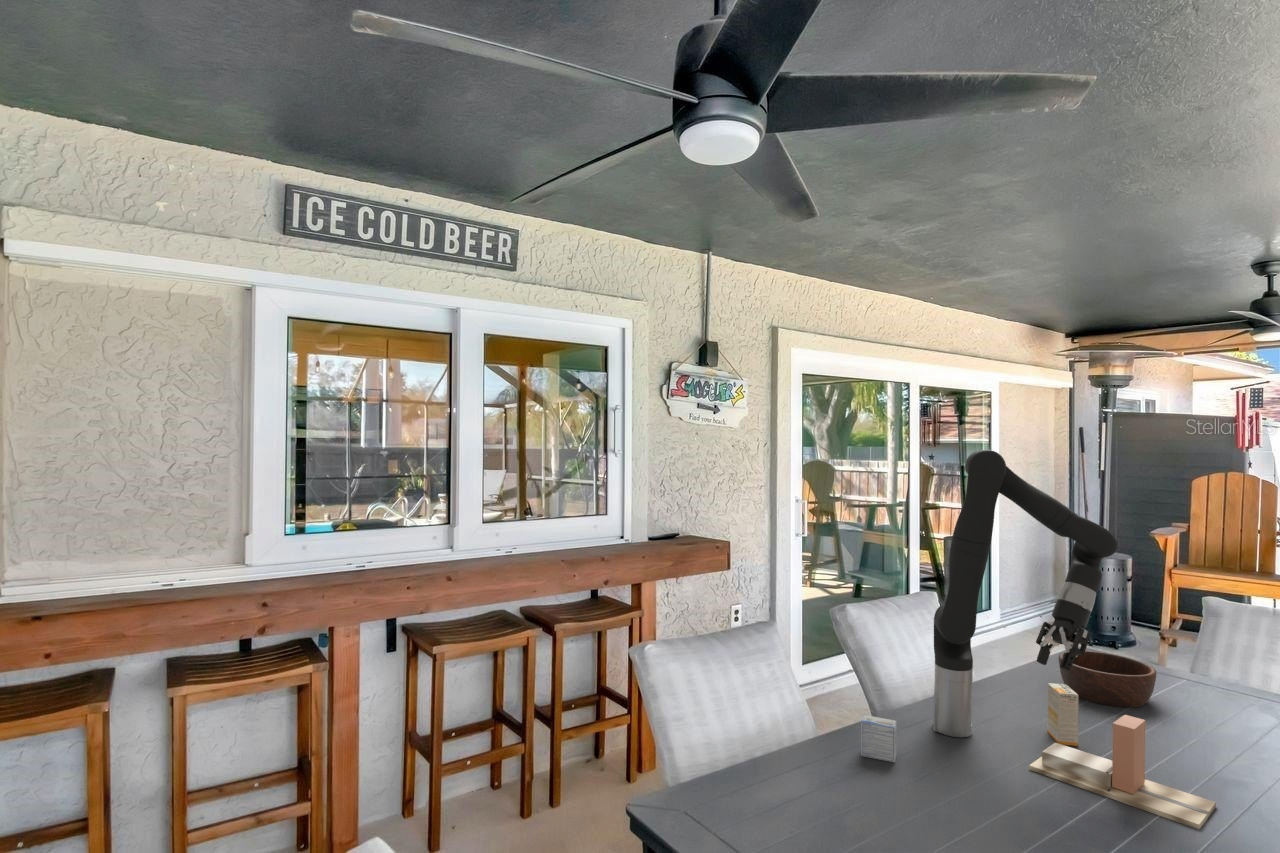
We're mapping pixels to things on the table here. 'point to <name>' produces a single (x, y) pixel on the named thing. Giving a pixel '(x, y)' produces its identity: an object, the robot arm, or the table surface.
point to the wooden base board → (1098, 779)
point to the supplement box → (1062, 714)
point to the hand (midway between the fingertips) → (1052, 666)
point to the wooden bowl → (1110, 679)
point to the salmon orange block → (1128, 754)
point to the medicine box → (879, 738)
